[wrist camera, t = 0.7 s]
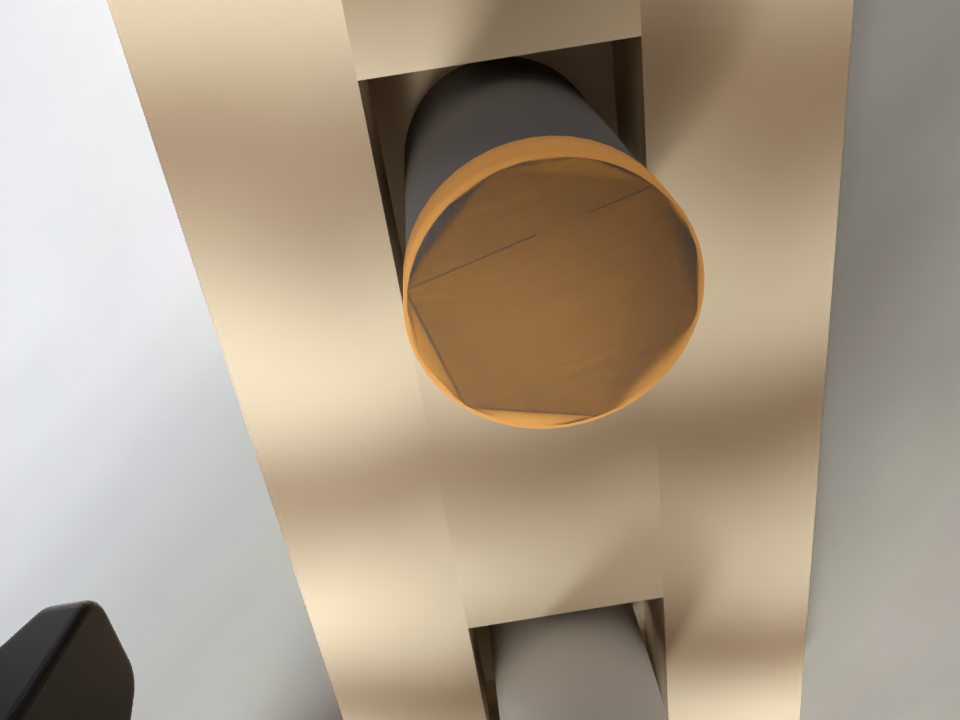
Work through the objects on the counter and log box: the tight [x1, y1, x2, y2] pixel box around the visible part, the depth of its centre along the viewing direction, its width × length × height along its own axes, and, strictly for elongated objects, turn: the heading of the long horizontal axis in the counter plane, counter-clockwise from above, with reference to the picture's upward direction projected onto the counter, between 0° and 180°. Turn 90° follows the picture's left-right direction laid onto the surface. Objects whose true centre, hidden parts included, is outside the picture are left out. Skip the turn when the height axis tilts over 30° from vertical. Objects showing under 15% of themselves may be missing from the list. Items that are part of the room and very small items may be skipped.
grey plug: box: [489, 603, 669, 720], centre depth 21 cm, size 4×4×7 cm
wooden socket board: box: [107, 0, 854, 720], centre depth 20 cm, size 24×12×3 cm, turn 8°
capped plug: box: [403, 56, 705, 429], centre depth 15 cm, size 4×4×7 cm
